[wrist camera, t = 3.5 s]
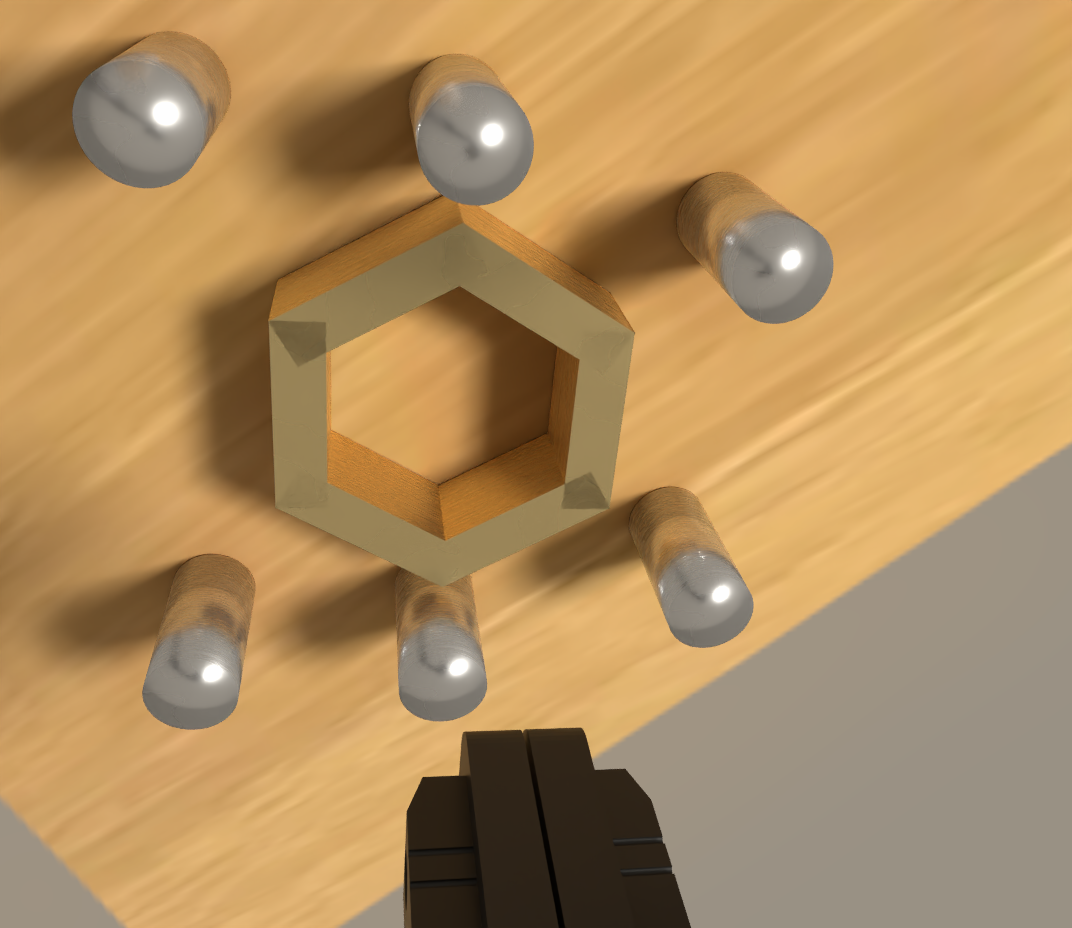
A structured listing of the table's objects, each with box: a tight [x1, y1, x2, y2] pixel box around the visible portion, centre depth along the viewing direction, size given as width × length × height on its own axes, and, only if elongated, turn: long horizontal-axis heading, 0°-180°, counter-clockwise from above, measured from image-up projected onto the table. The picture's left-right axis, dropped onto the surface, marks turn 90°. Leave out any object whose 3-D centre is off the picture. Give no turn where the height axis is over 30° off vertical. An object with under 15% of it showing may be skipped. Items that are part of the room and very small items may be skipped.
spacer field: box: [72, 32, 833, 730], centre depth 22 cm, size 14×14×4 cm
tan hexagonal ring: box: [268, 196, 635, 587], centre depth 23 cm, size 7×9×2 cm
